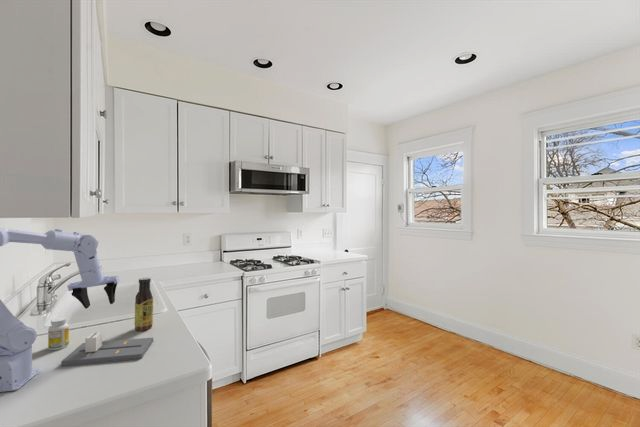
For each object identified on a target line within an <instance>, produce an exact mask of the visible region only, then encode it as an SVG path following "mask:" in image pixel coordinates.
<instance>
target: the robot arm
mask: <svg viewBox="0 0 640 427" xmlns="http://www.w3.org/2000/svg"><path fill="white" fill-rule="evenodd" d="M8 243H19V244H32V245H34V244H35V245H41V246H42V247H43V248H44V249H45V250H50V251H51V250H52V251H64V252H73V255H74V258H75V262H76V265H77V268H78V272H79V275H80V279H81V280H80V281H75V282H70V283H69V284H68V285H67V290H68V291H69V292H71V291H72V292H71V296H72V297H74V298H75V299H77V300H78V302H80V303H81V305H82V306H83V308H84V309H88V308H89V307H90V306H91V301H90V298H89V294H88V288H90V287H91V288H92V287H97V286H104V287H103V289H104V290H103V291H105V293H106V296H107V298H108V302H109V304H110V305H113V304H114V303H115V302H116V289H117V286H118V283H119V282H120V277H119V275H115V276H114V275H112V276H111V275H110V276H104V275H103V271H102V267H101V265H100V264H101V263H100V261H99V260H100V259H99V256H98V252H97V248H98V246H99V240H97V239H96V238H95V236H93V235H90V234H81V233H80V232H78V231H73V232H68V231H63V229H59V228H55V229H53V230H52V229H51V230H48V231H45V233H40V232H32V231H27V230H26V231H25V230H19V229H13V228H11V229H10V228H2V227H0V247H3V246H5V245H7V244H8ZM37 335H38V334H37V331H36V330H35V328H33V327H30V326H27V325H26V324H24V322H23V321H21V320H20V319H19V318H18V317H16V316H15V315H14V314H13V313H12V312H11V311H10V309H9V308H8V307H7V306H6V304H5V303H4V302H3V301H2V299H0V393H3V392H12V391H13V392H14V391H17V390H19V389H20V388H22V386H23V385H25V384H26V383H28V381H30V380H31V379H33V378H34V377H36V375H37V374H39V373H40V372H41V369H33V344H34V343H35V342H36V339H37Z"/></svg>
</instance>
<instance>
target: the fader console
mask: <svg viewBox="0 0 640 427" xmlns="http://www.w3.org/2000/svg"><path fill="white" fill-rule="evenodd" d="M153 343H154V336H152V337H143V338H141V337H140V338H129V339H117V340H106V341H105V340H104V341H103V340H102V346H101V347H100V348H99V349H98V350H97V351H95V352H85V342H82V343H81V344H79V346H77V347H76V348H75V349H74V350H72V351H71V352H70V353H69V354H68V355H67V356H66V357H64V358H63V359H62V360H60V361H61V362H60V366H61V367H65V366H76V365H87V364H88V365H89V364H96V363H97V364H99V363H108V362H109V363H110V362H117V361H129V360H137V359H138V360H140V359H143V358H144V356H145V354H146V353H147V352H148V350H149V349H150V347H151V346H152V344H153Z"/></svg>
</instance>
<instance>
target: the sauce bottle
mask: <svg viewBox="0 0 640 427" xmlns="http://www.w3.org/2000/svg"><path fill="white" fill-rule="evenodd" d="M151 281H152V279H151V277H141V278H138V283H139V284H138V291H137V293H136V294H135V303H134V330H135V331H139V332H144V331H149V330H150V329H151V328H152V327H153V323H154V297H153V294H152V291H151Z"/></svg>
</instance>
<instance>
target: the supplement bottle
mask: <svg viewBox="0 0 640 427" xmlns="http://www.w3.org/2000/svg"><path fill="white" fill-rule="evenodd" d="M47 331H48V332H47V333H48V334H47V338H48V339H47V341H48V342H47V343H48V344H47V347H48V350H49V351H59V350H62V349H64V348H67V347H68V346H69V344H70V325H69V323H67V317H66V316H65V317H63V316H61V317H56V318H52V319H51V320H50V326H49V327H48V330H47Z"/></svg>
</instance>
